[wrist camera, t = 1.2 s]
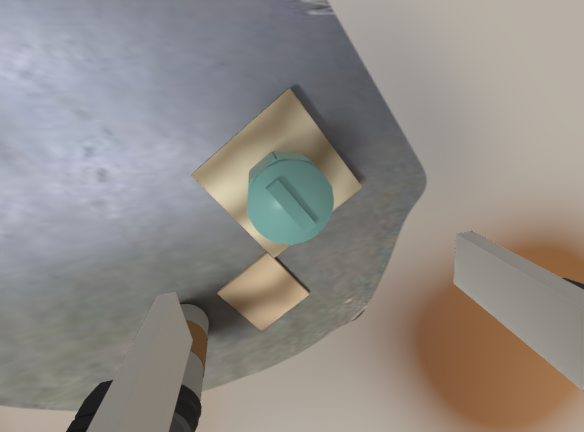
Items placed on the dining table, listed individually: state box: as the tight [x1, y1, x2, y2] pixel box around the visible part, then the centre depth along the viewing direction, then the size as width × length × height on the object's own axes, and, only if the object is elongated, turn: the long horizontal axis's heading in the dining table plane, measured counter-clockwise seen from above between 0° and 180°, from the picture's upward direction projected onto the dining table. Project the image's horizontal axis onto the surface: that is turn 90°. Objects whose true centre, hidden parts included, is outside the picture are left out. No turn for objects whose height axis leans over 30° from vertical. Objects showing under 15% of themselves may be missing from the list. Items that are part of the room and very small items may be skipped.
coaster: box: [217, 252, 309, 331], centre depth 39 cm, size 9×9×1 cm
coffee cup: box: [169, 304, 209, 432], centre depth 32 cm, size 8×8×15 cm
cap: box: [247, 151, 334, 245], centre depth 26 cm, size 7×7×7 cm
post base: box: [192, 88, 362, 258], centre depth 29 cm, size 14×14×10 cm
